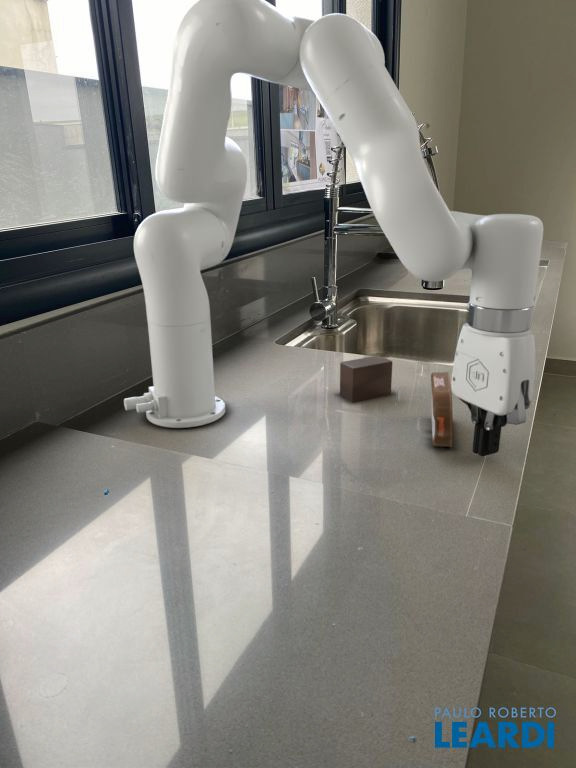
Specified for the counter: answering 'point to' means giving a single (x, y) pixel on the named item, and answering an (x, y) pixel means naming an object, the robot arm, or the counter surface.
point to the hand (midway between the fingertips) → (485, 452)
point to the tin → (441, 410)
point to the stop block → (365, 378)
